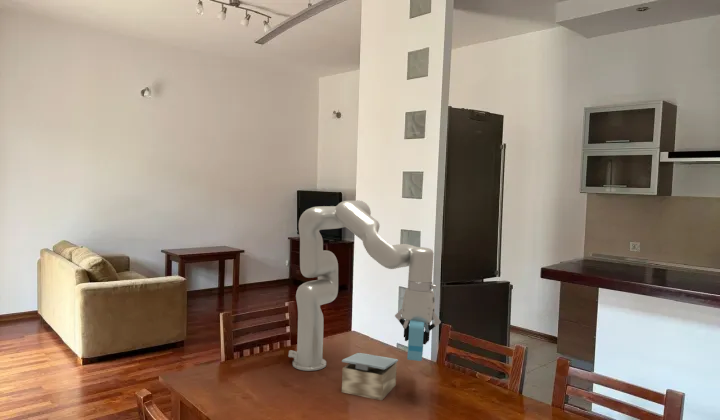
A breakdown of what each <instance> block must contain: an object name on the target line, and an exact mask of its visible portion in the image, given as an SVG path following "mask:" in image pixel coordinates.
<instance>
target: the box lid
mask: <svg viewBox="0 0 720 420" xmlns="http://www.w3.org/2000/svg"><path fill="white" fill-rule="evenodd" d="M396 362H399V359H397V358H393V357H386V356H380V355H375V354H371V353H370V354H368V353H363V352H362V353H361V352H356V353H355V354H352V355H350V356H348V357H346V358H343V359H342V360H341V363H346V364H349V363H351V364H356V369H361V370H368V367H373V368H378V369H386V368H388V367H389V366H391V365H393V364H394V363H396Z"/></svg>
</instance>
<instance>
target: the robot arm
mask: <svg viewBox="0 0 720 420" xmlns="http://www.w3.org/2000/svg"><path fill="white" fill-rule="evenodd" d="M371 213H372V212H371V208H370V206H369V205H368V204H367V203H366V202H364V201H363V200H343V201H341V202H339V203H338V204H337V205H336V206H334V205H330V206H327V205H326V206H325V205H323V206H312V207H310V208H307V209H305V211H303V212H302V214H300V217H299V220H298V234H299V268H300V273H301V274H302V276H303V277H304V278H308V279H311V278H312V279H314V278H317V279H315V280H309V281H306V282H303V283H302V284H300V285H299V286H298V287H297V290H296V293H295V300H296V305H297V341H296V342H297V344H296V345H297V347H296V349H297V350H291V349H290V350H288V355H287V356H288V358H293V360H292V367H293V368H295V369H297V370H299V371H304V372H305V371H306V372H310V371H319V370H322V369H324V368H325V367H326V366H327V360H326V359H324V358H323V354H324V353H323V349H324V348H323V347H324V322H325V321H324V314H323V312H322V309H321V306H322V305H326V304H329V303H332V302H333V301H335V300H336V298H337V297H338V293H339V263H338V262H339V261H338V259H337V257H336V255H335V253H333V252H332V251H330V250H324V239H323V237H322V234H321V233H320V231H322V230H335V229H342V228H346V229H348V230H349V231H350V232H351V233H352V234H354V236H356V237H357V238H359V239H360V240H361V241H362V245H363V248H364V249H365V252H366V253H367V254H368V255H369V256H370V257H371V258H372V259H373V260H374V261H376V262H377V263H378V264H379V265H381V266H382V267H384V268H386V269H388V270H396V269H400V268H406V267H408V275H407V276H408V277H407V287H406V288H405V290H404V295H403V300H402V304H401V305H402V307H401V309H400V310H398V312H396V314H394V317H395V318H396V319H397V321H398V322H399V323H400V325H401V326H402V328H403V338H404V341H405V342H408V339H409V324H410V320H416V321H422V322H424V336H423V345H426V344H427V343H428V342H429V341H430V335H431V333H430V332H431V331H432V330H433V329H434V328H436V327H437V326H439V325H440V324H441V322H442V321H441V320H440V318H439V316H437V314H436V299H435V298H436V297H435V292H434V289H435V290H436V288H437V285H436V284H434V283H433V269H434V250H433V249H431V248H429V247H422V246H421V247H420V246H415V245H412V244H408V243H400V244H390V243H389V242H388V241H386V240H385V239H384V238H383V237H381V236H380V234H379V230H380V226H381V225H380V222H379V220H377V219H376V218H374V217H373V216H371ZM432 321H434V322H432ZM431 322H432V323H431Z"/></svg>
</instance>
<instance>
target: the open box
mask: <svg viewBox="0 0 720 420" xmlns="http://www.w3.org/2000/svg"><path fill="white" fill-rule="evenodd" d="M397 362H398V361H397ZM397 362H396V363H394V364H393V365H391V366H389V367H388V368H386V369H378V368H373V367H368V370H361V369H356V364H351V363H346V365H345V366H344V367H342V372H341V374H342V376H341V382H342V383H341V393H345V394H350V395H353V396H358V397H363V398H368V399H373V400H377V401H378V400H379V401H383V399H385V397H387V396H388V394H389V393H390V392H391V391H392V390H393V389H394V388H395V386H396V384H397Z"/></svg>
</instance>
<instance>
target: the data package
mask: <svg viewBox="0 0 720 420" xmlns="http://www.w3.org/2000/svg"><path fill="white" fill-rule="evenodd" d="M424 332H425V327H424V322H422V321H416V320H410V324H409V339H408V341H407V342H408V343H407V356H406V357H407V360H408V361H417V362H422V360H423V354H424V352H423V351H424V344H423V336H424Z"/></svg>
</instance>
